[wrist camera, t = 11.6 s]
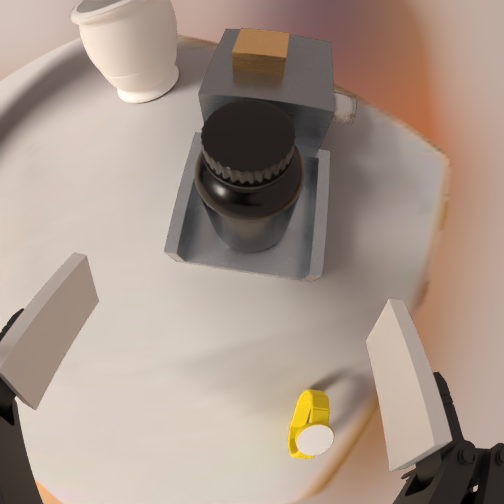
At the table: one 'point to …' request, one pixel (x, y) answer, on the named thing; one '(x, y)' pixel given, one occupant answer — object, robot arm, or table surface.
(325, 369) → the table surface
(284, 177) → the supplement bottle
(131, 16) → the jar
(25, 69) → the table surface
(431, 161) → the table surface
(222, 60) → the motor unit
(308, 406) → the watch
